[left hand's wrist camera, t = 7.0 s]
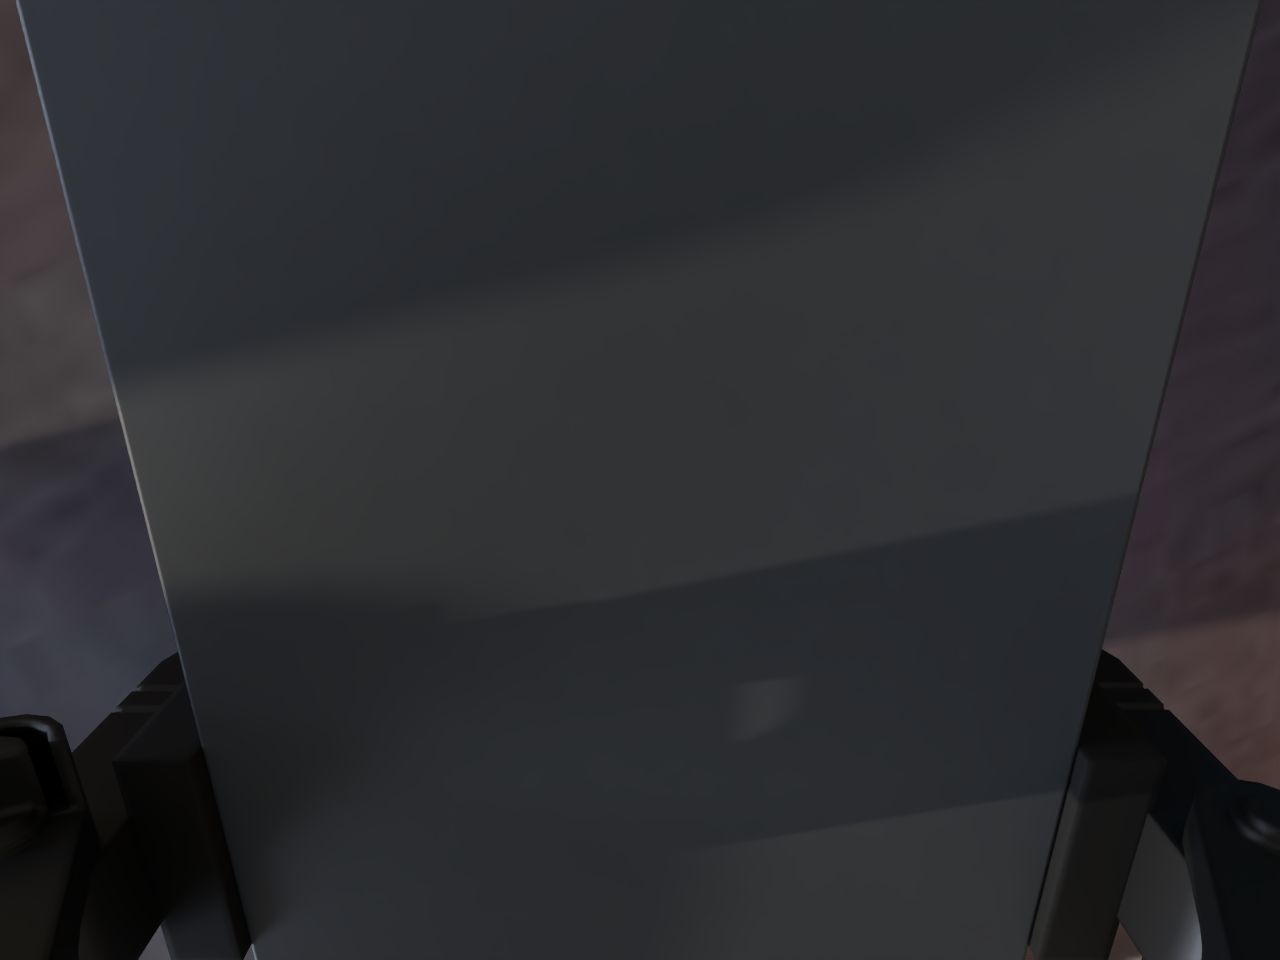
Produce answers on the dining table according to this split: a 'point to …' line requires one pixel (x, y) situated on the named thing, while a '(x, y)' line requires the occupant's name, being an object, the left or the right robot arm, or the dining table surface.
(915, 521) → the thick board
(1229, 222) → the dining table surface
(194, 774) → the left robot arm
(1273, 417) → the dining table surface
